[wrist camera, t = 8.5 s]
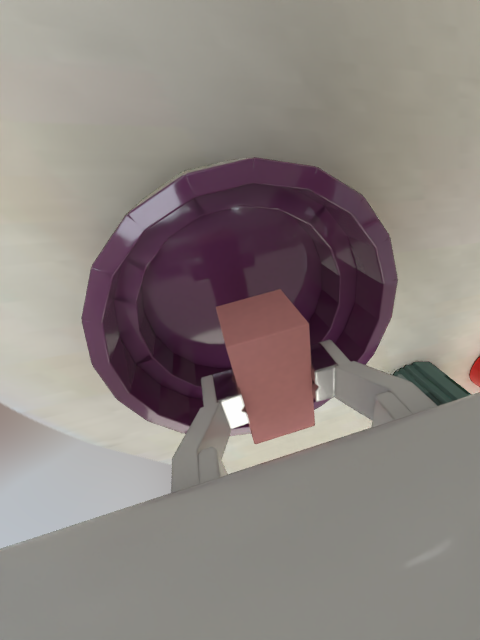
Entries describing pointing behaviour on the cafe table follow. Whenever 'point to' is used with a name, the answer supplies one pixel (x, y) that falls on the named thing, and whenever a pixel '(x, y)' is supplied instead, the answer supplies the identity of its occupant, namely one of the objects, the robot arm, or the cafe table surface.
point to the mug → (475, 372)
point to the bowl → (231, 277)
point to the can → (432, 382)
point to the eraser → (270, 363)
